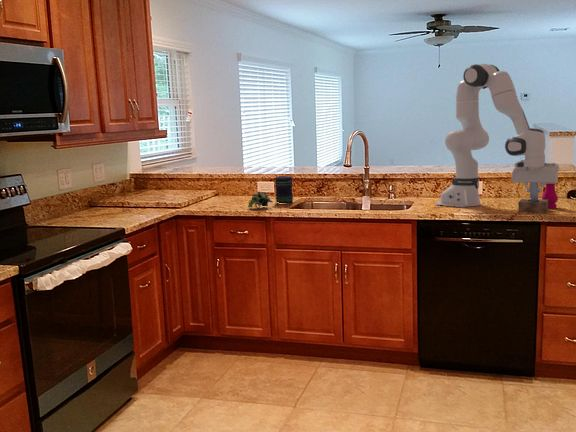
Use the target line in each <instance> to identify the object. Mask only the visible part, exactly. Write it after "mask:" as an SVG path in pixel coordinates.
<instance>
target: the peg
mask: <svg viewBox="0 0 576 432" xmlns="http://www.w3.org/2000/svg"><path fill="white" fill-rule="evenodd" d="M529 188H530V192H529V199H530V202H538V199H539V192H538V188H539V183H534V182H532V183H529Z"/></svg>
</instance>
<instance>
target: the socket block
mask: <svg viewBox="0 0 576 432" xmlns="http://www.w3.org/2000/svg"><path fill="white" fill-rule="evenodd" d="M517 204H518V208H517V209H518V211H517V212H518V213H522V212H527V213H526V214H547V212H548V211H549V209H548V200H542V199H539V198H538V202H530V198H521V199H520V200H519V201H518V203H517Z"/></svg>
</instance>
